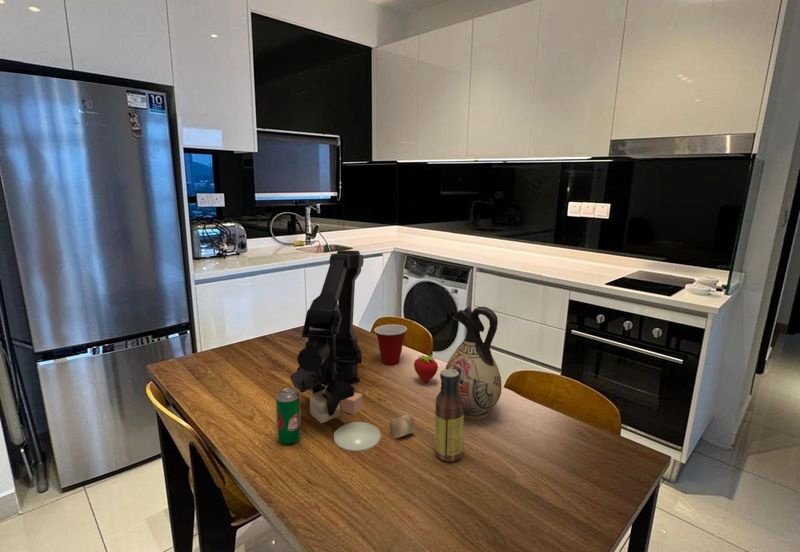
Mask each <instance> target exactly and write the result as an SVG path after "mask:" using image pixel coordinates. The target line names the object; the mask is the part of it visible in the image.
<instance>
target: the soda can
mask: <svg viewBox="0 0 800 552" xmlns="http://www.w3.org/2000/svg"><path fill="white" fill-rule="evenodd" d="M275 401H276V403H275V404H276V423H277V424H276V427H277V441H278V442H279V443H281V444H282V445H285V446H289V445H294V444H296V443H298V441H299V440H300V438H301V409H300V410H299V405H300V395H299V393H298V389H296V388H295V389H294V388H289V387H288V388H284V389H281V390H279V391H278V393H277V395H276V397H275Z"/></svg>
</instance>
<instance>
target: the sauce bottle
mask: <svg viewBox="0 0 800 552" xmlns="http://www.w3.org/2000/svg"><path fill="white" fill-rule="evenodd" d="M439 377H440V391H439V392H438V393H437V394H438V395H436V398H435V410H434V450H435V453H436V454H435V455H436V457H438V458H439V459H440V460H442V461H444V462H448V463H449V462H450V463H451V462H456V461H458V460H460V459H461V458H462V455H463V449H464V419H465V418H464V411H463V402H462V400H461V398H460V395H459V392H458V390H459V389H458V380H459V372H458V371H456V370H454V369H445V368H444V369H442V370H441V371H440V374H439Z"/></svg>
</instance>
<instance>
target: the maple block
mask: <svg viewBox="0 0 800 552" xmlns="http://www.w3.org/2000/svg"><path fill="white" fill-rule="evenodd" d="M323 394H325V390H322V391H319V392H316V393H310V394H309V415H311V416H312V417H313V418H314V419H316V421H318V422H319V423H320V424H323V423H326V422H328V421H330V420H333V419H336V418H339V417H340V416H341V406H340V405H341V402H340V403H339V405H338V406H337V408H336V410H335V412H334V414H333V415H332V416H329V414H328V408H327V400H326V399H325V398H324V397H323V396H322V395H323Z"/></svg>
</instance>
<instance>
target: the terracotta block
mask: <svg viewBox="0 0 800 552" xmlns="http://www.w3.org/2000/svg"><path fill="white" fill-rule="evenodd" d="M340 405H341V406H340V412H343V413H347V414H350V415H353V416H355V415H356V414H357V413H359V411H361V410H362V408H363V394H362V393H359V392H355V391H354V396H352V397H349V398H347V399H344V400H341V401H340Z"/></svg>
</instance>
